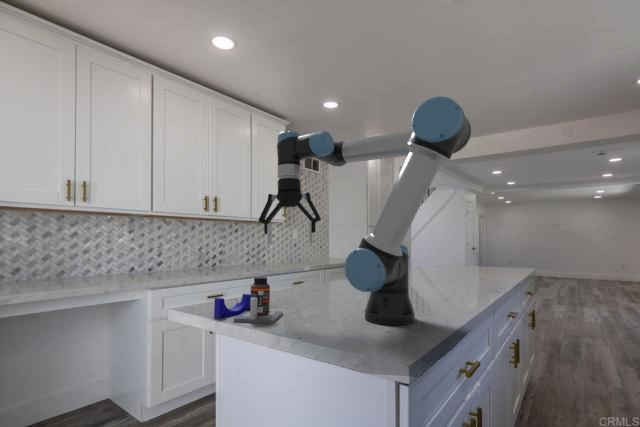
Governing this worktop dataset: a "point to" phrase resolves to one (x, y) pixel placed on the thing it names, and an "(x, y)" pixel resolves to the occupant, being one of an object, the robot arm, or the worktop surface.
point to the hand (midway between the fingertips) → (290, 243)
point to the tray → (260, 320)
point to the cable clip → (238, 309)
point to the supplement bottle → (261, 295)
